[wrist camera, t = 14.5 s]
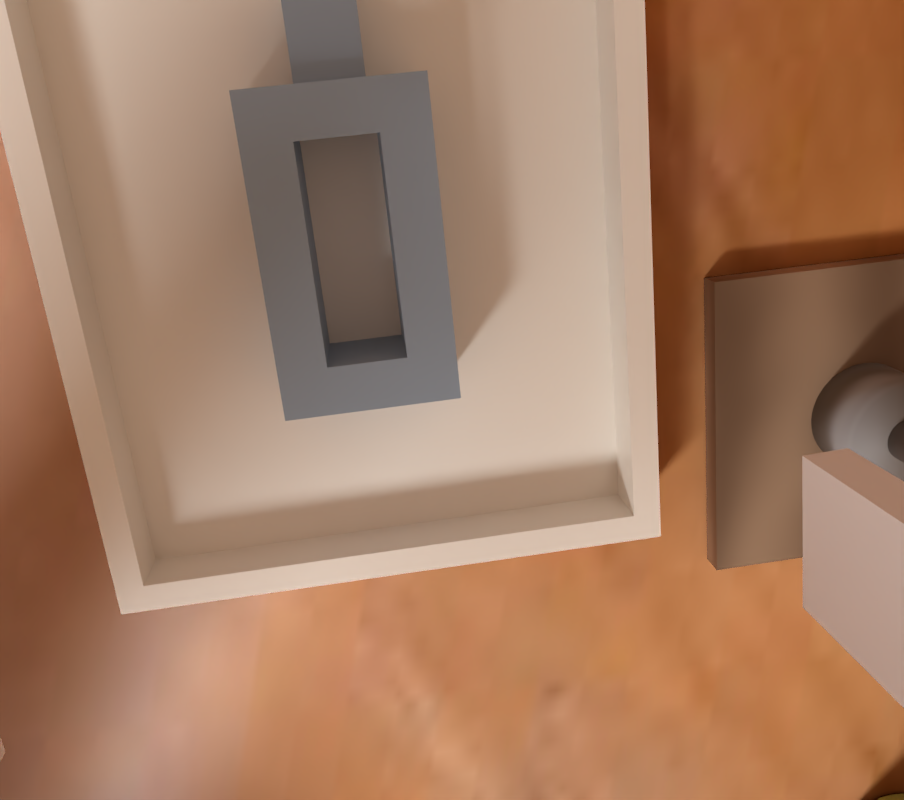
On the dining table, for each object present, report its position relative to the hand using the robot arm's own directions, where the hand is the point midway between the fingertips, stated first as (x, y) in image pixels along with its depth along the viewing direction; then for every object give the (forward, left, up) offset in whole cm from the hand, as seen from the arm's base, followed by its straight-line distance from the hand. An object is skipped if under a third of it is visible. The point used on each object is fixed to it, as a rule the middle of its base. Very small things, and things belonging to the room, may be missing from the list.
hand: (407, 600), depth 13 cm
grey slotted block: (0, +5, -18) cm, 19 cm away
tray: (0, +3, -20) cm, 20 cm away
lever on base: (+19, -6, -20) cm, 28 cm away
